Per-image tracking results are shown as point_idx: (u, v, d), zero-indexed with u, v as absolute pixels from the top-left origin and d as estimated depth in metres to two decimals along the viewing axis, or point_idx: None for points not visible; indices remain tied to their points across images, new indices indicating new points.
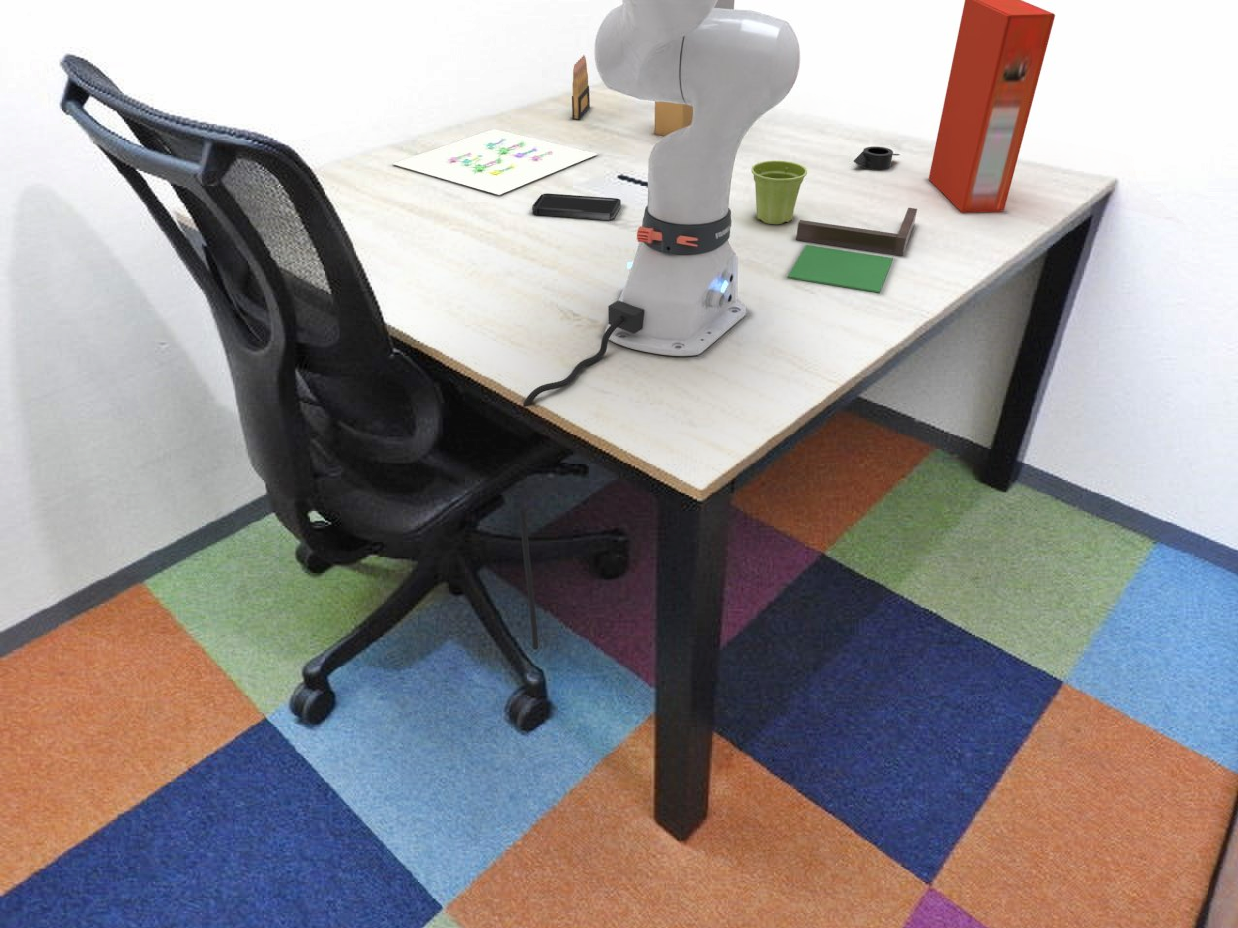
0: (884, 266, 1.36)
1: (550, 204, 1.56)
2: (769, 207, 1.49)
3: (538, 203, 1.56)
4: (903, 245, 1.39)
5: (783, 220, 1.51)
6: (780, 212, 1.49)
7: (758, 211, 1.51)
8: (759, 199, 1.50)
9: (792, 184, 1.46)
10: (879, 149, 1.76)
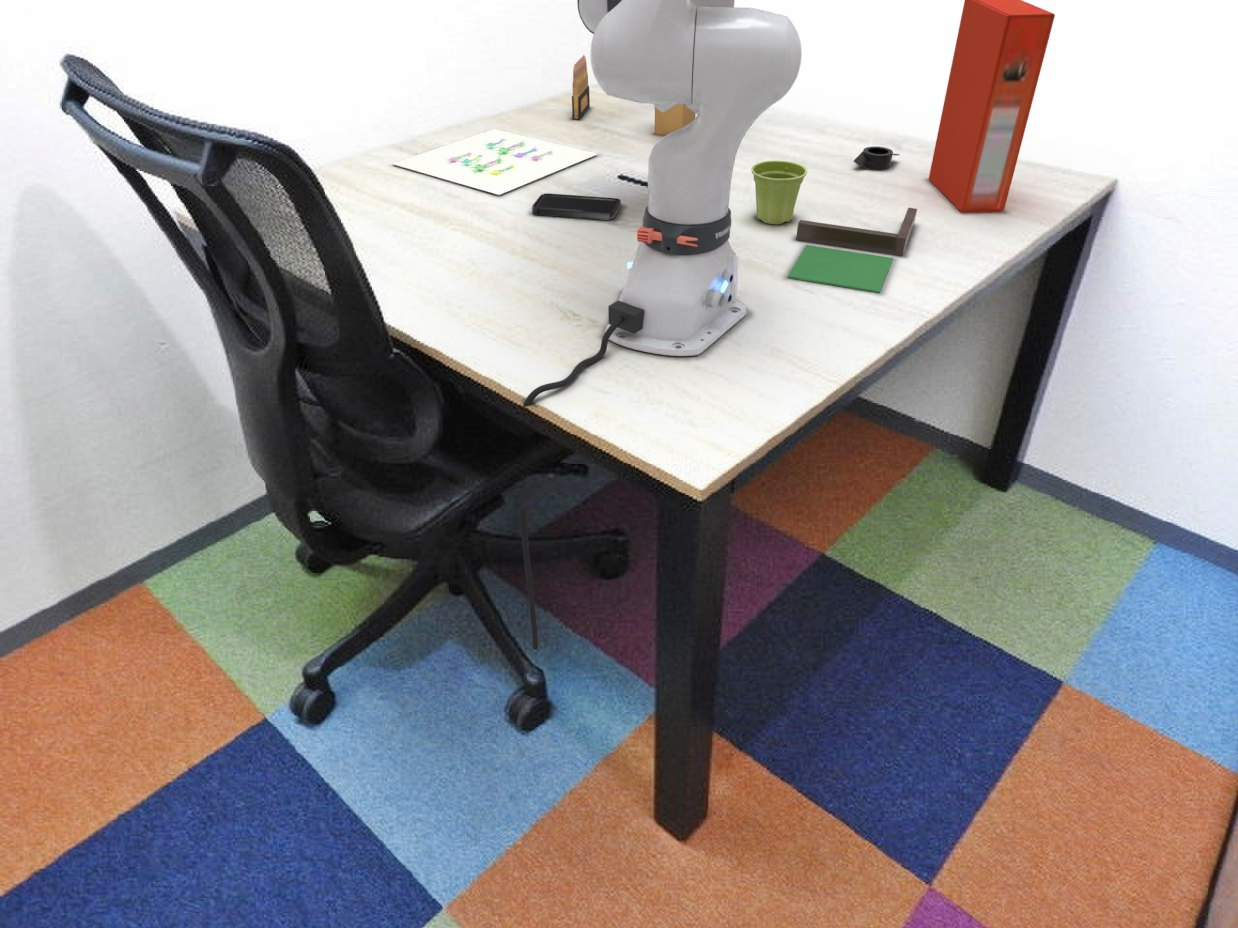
0: (884, 266, 1.36)
1: (550, 204, 1.56)
2: (769, 207, 1.49)
3: (538, 203, 1.56)
4: (903, 245, 1.39)
5: (783, 220, 1.51)
6: (780, 212, 1.49)
7: (758, 211, 1.51)
8: (759, 199, 1.50)
9: (792, 184, 1.46)
10: (879, 149, 1.76)
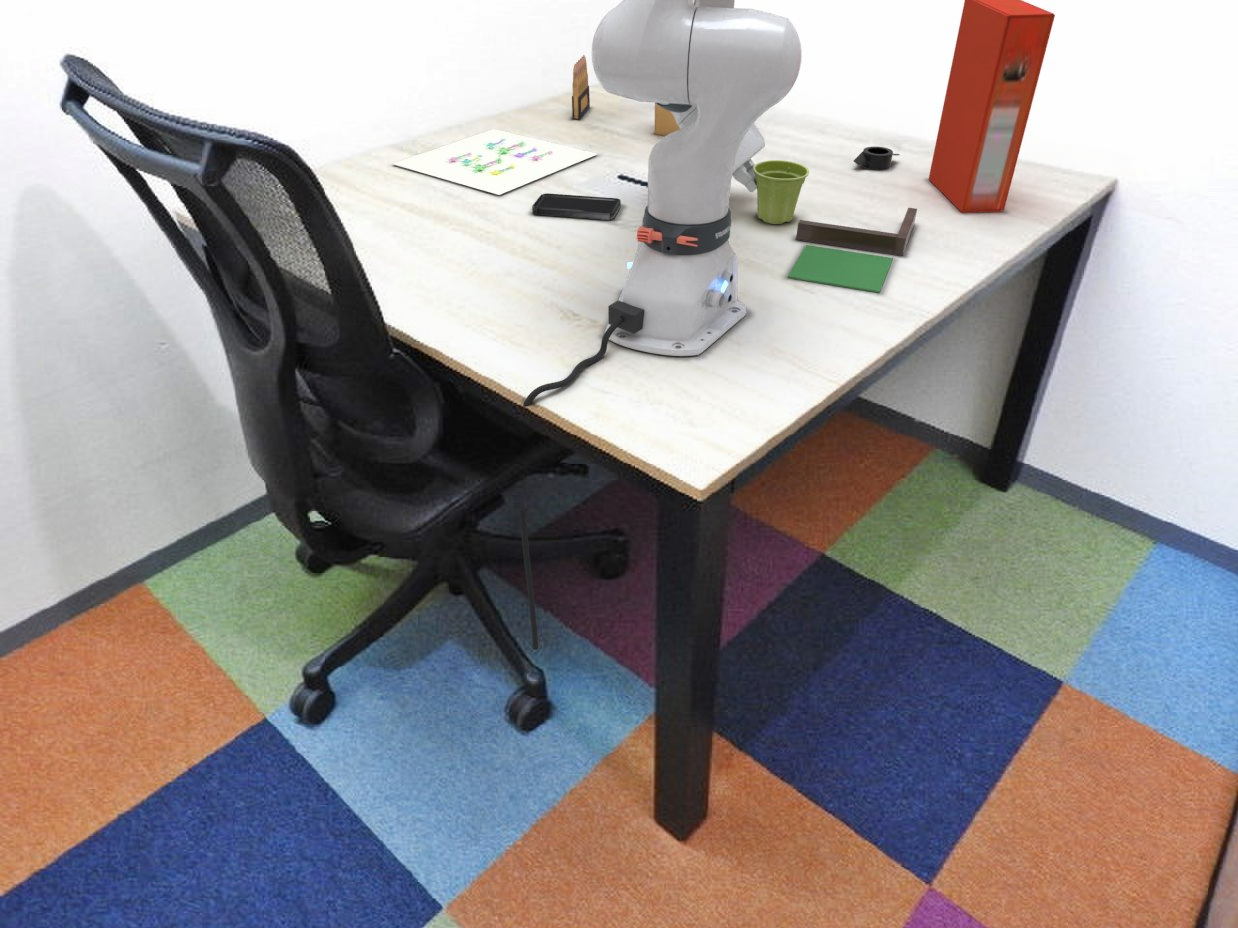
0: (884, 266, 1.36)
1: (550, 204, 1.56)
2: (770, 207, 1.49)
3: (538, 203, 1.56)
4: (903, 245, 1.39)
5: (784, 220, 1.51)
6: (781, 212, 1.49)
7: (759, 210, 1.51)
8: (760, 198, 1.50)
9: (793, 184, 1.46)
10: (879, 149, 1.76)
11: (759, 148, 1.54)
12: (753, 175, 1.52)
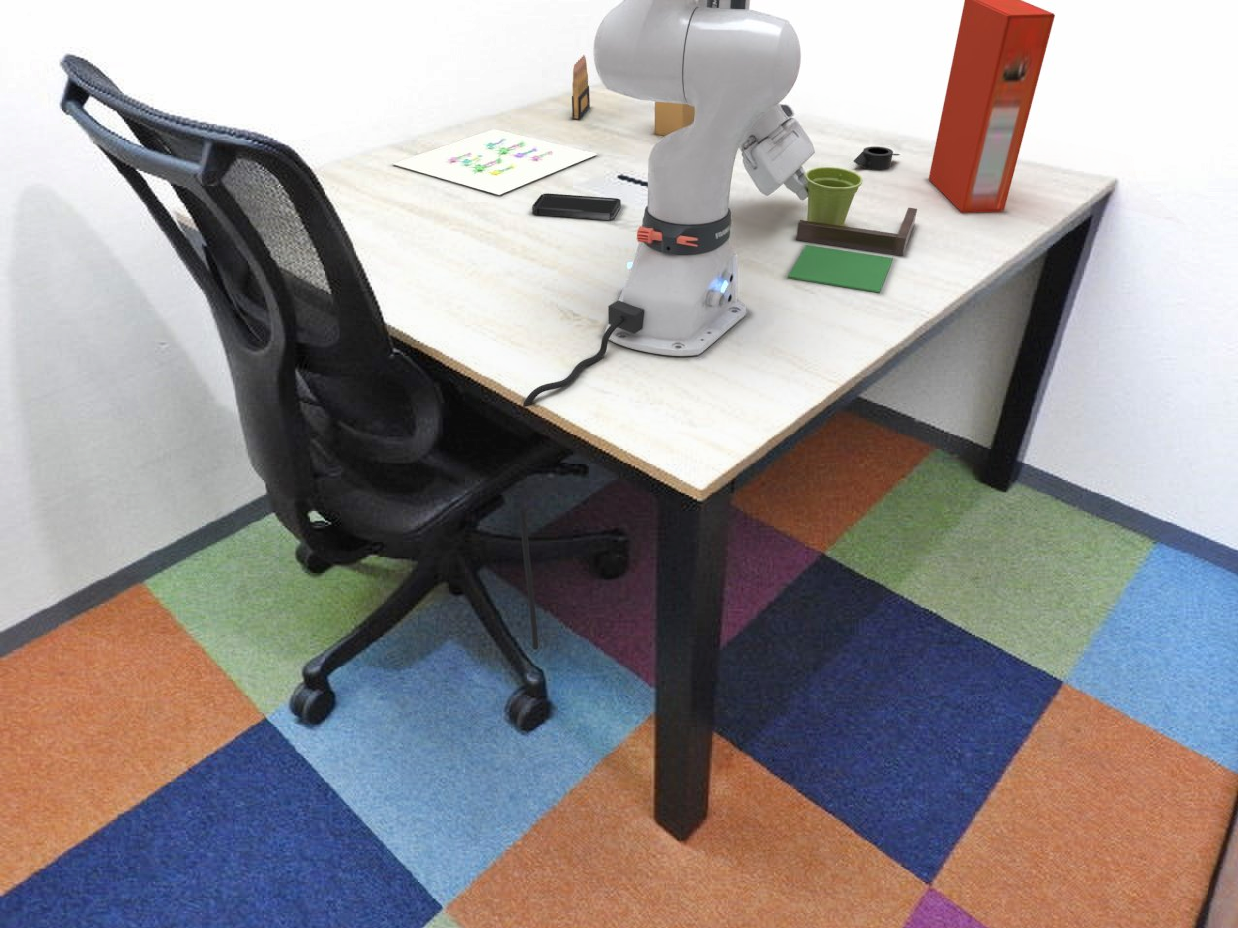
0: (884, 266, 1.36)
1: (550, 204, 1.56)
2: (822, 215, 1.46)
3: (538, 203, 1.56)
4: (903, 245, 1.39)
5: None
6: (833, 221, 1.46)
7: (809, 218, 1.48)
8: (812, 206, 1.46)
9: (847, 193, 1.43)
10: (879, 149, 1.76)
11: (809, 155, 1.51)
12: (804, 183, 1.48)
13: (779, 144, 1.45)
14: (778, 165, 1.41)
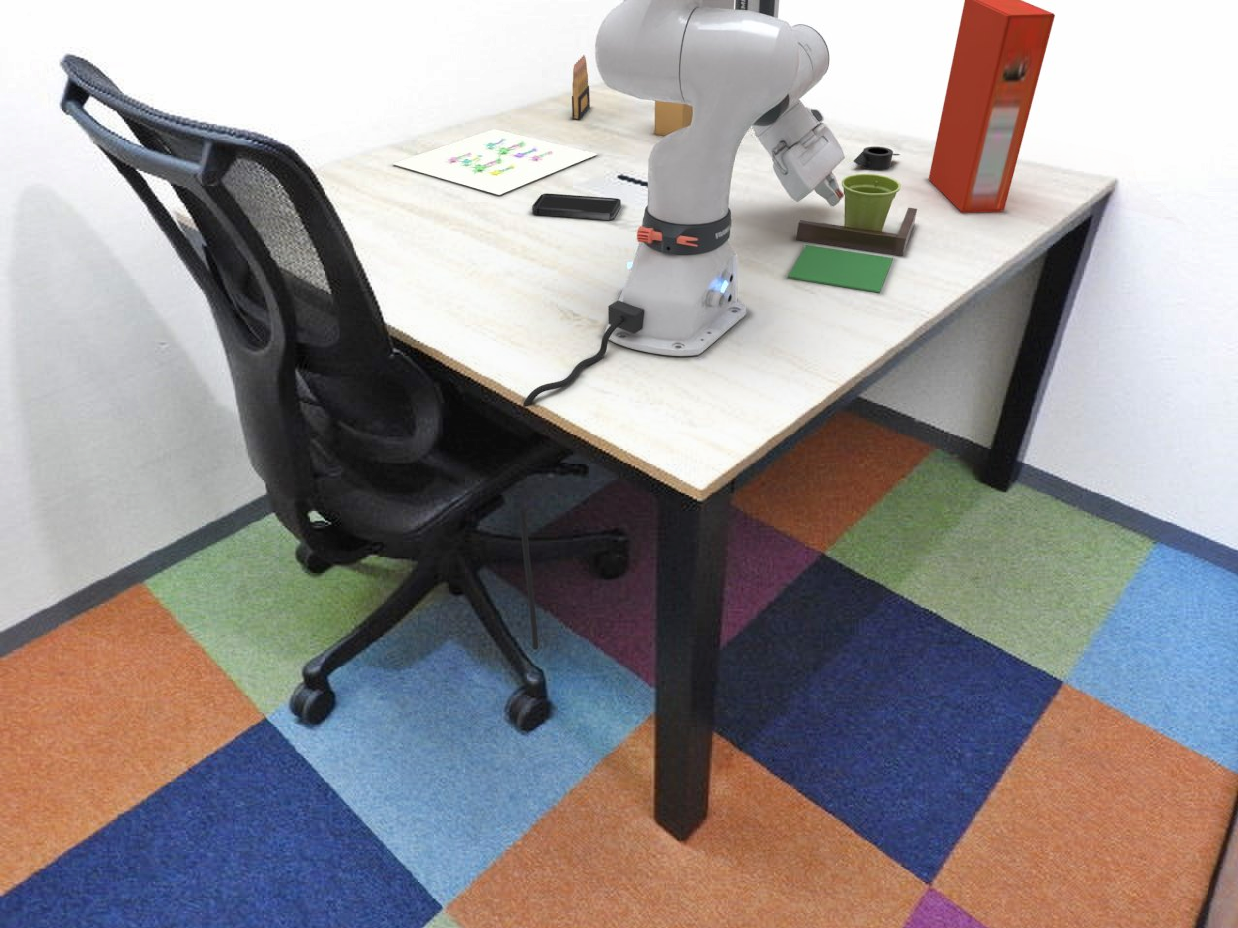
0: (884, 266, 1.36)
1: (550, 204, 1.56)
2: (860, 223, 1.43)
3: (538, 203, 1.56)
4: (903, 245, 1.39)
5: None
6: (871, 228, 1.44)
7: (847, 226, 1.46)
8: (849, 214, 1.44)
9: (885, 199, 1.40)
10: (879, 149, 1.76)
11: (839, 160, 1.49)
12: (834, 188, 1.46)
13: (809, 149, 1.43)
14: (809, 170, 1.39)
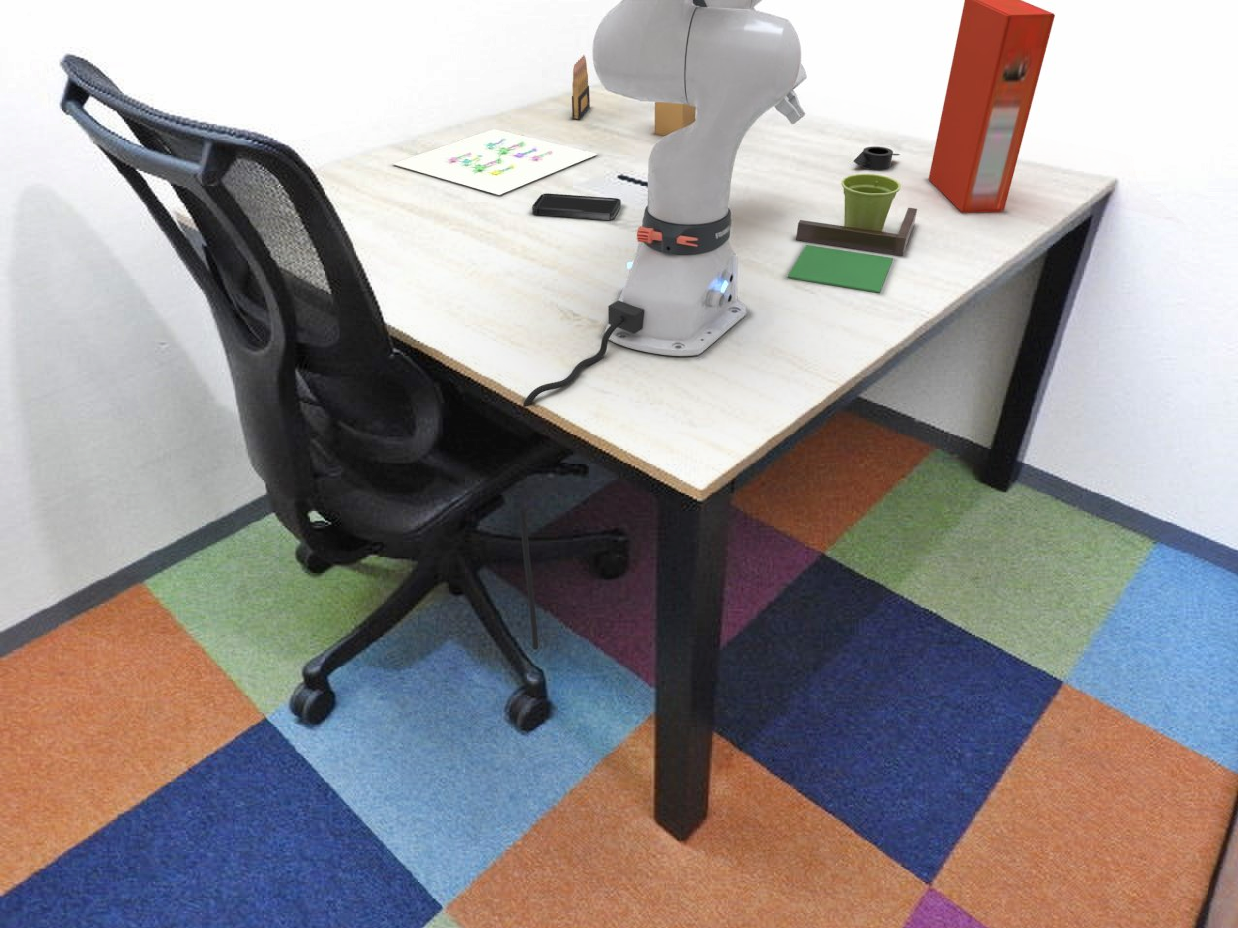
0: (884, 266, 1.36)
1: (550, 204, 1.56)
2: (860, 223, 1.43)
3: (538, 203, 1.56)
4: (903, 245, 1.39)
5: None
6: (871, 228, 1.44)
7: (847, 226, 1.46)
8: (849, 214, 1.44)
9: (885, 199, 1.40)
10: (879, 149, 1.76)
11: (801, 79, 1.44)
12: (795, 106, 1.42)
13: None
14: None
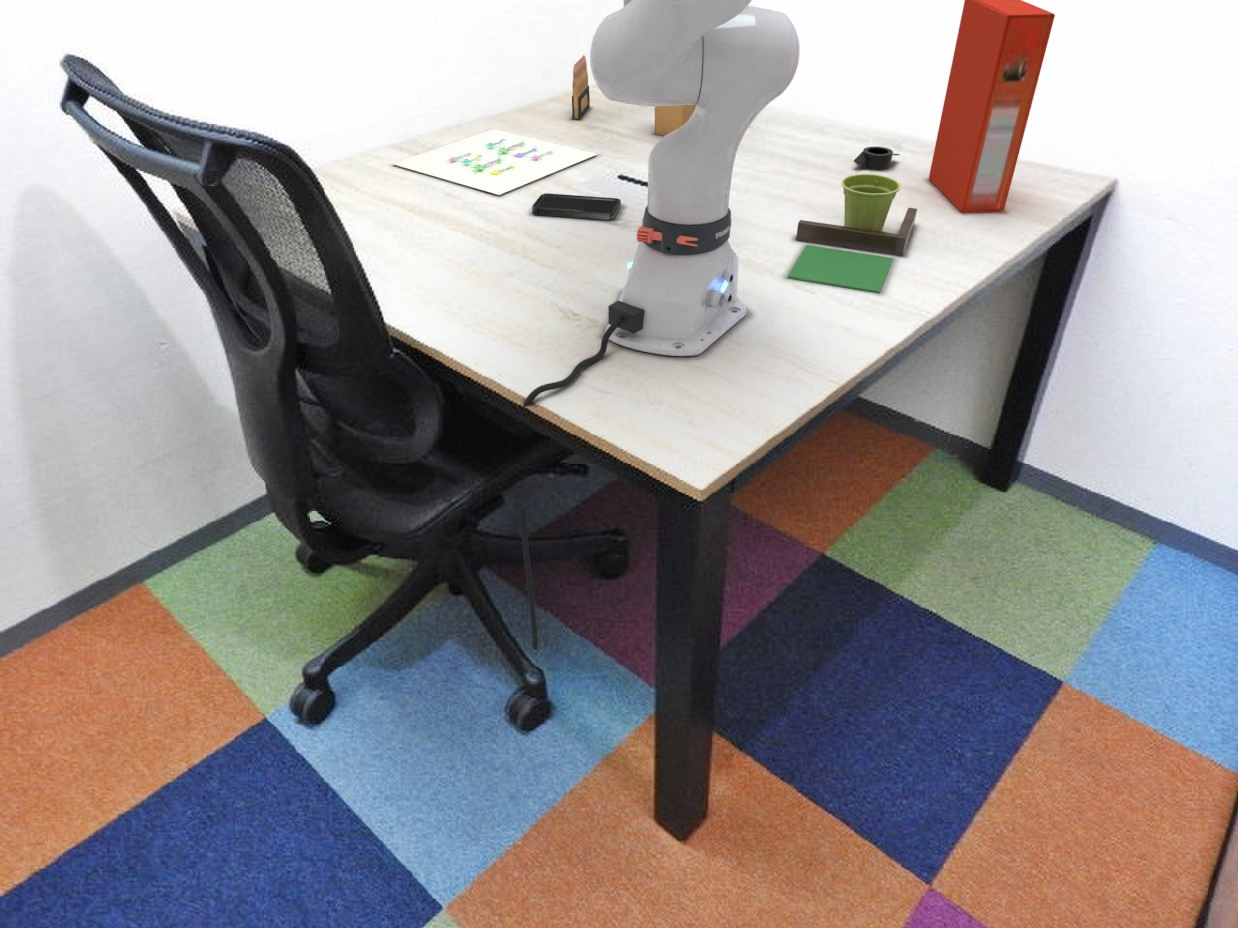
0: (884, 266, 1.36)
1: (550, 204, 1.56)
2: (860, 223, 1.43)
3: (538, 203, 1.56)
4: (903, 245, 1.39)
5: None
6: (871, 228, 1.44)
7: (847, 226, 1.46)
8: (849, 214, 1.44)
9: (885, 199, 1.40)
10: (879, 149, 1.76)
11: None
12: None
13: None
14: None
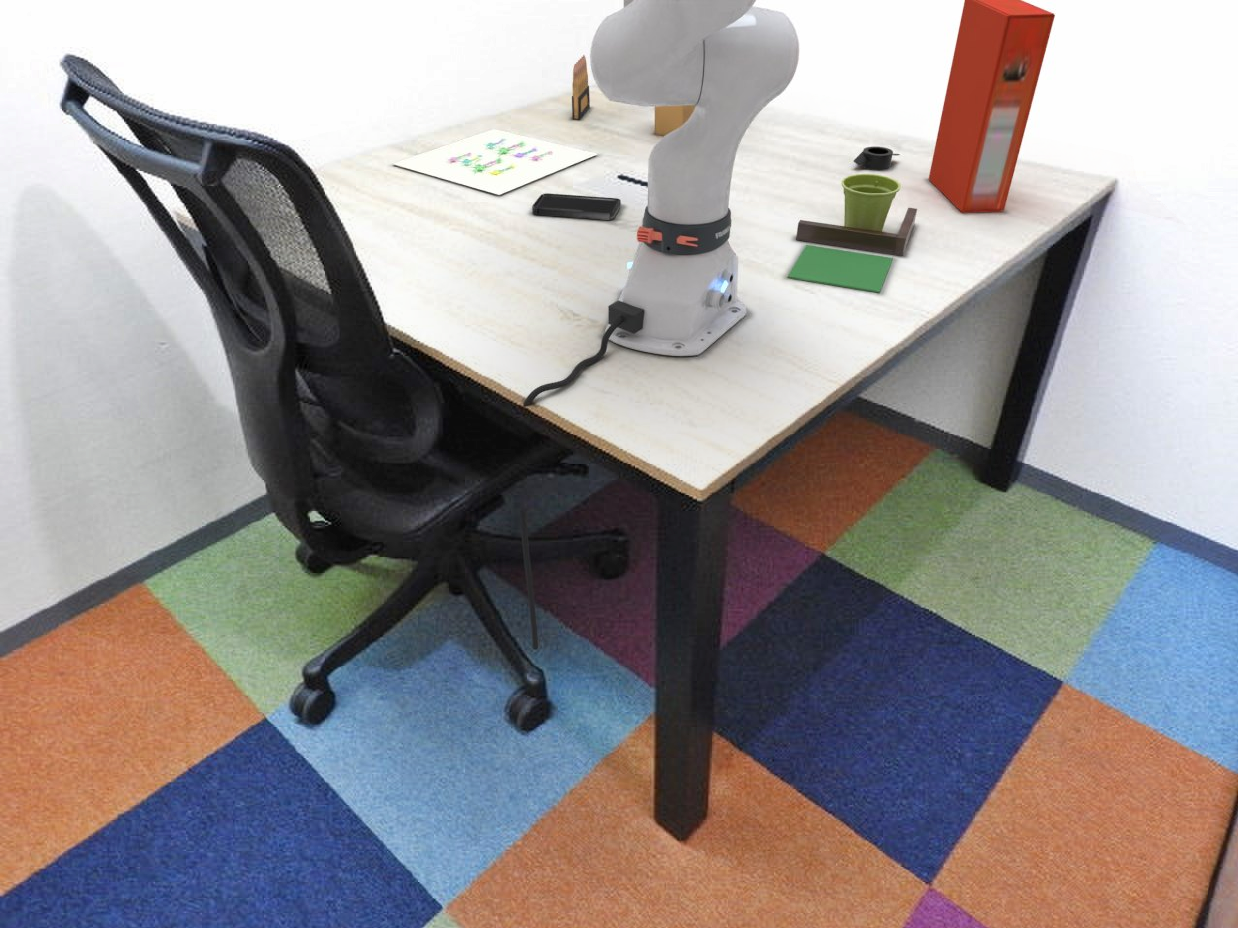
0: (884, 266, 1.36)
1: (550, 204, 1.56)
2: (860, 223, 1.43)
3: (538, 203, 1.56)
4: (903, 245, 1.39)
5: None
6: (871, 228, 1.44)
7: (847, 226, 1.46)
8: (849, 214, 1.44)
9: (885, 199, 1.40)
10: (879, 149, 1.76)
11: None
12: None
13: None
14: None
